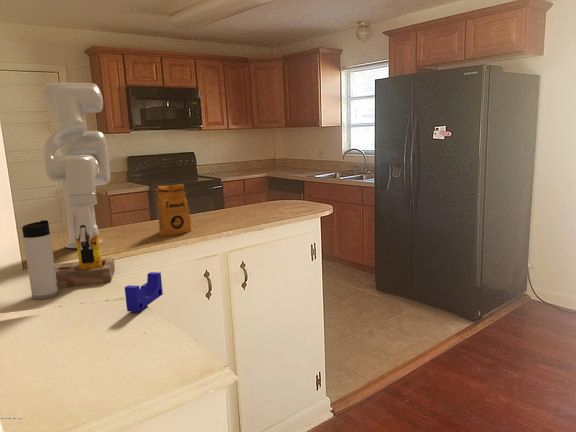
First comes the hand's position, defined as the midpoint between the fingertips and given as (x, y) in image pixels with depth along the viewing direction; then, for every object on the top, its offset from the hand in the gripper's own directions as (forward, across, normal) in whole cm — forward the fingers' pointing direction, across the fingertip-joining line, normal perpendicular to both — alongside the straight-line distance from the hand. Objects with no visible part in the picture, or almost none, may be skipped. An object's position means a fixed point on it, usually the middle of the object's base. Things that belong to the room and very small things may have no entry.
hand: (90, 259), depth 134 cm
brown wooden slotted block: (+6, 0, -2) cm, 6 cm away
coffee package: (+6, -44, +26) cm, 52 cm away
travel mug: (+6, +12, -10) cm, 17 cm away
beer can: (+5, 0, 0) cm, 5 cm away
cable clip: (+6, +26, +16) cm, 31 cm away
